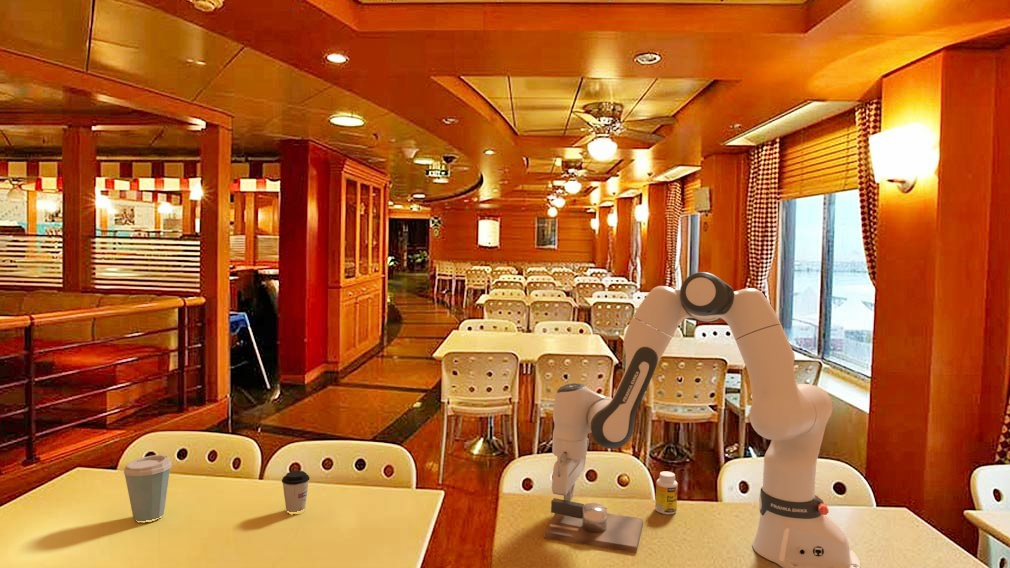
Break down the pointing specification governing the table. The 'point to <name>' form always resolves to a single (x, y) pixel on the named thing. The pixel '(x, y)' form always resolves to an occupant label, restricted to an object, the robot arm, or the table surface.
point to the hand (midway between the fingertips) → (568, 499)
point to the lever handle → (583, 513)
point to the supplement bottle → (666, 493)
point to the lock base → (616, 536)
